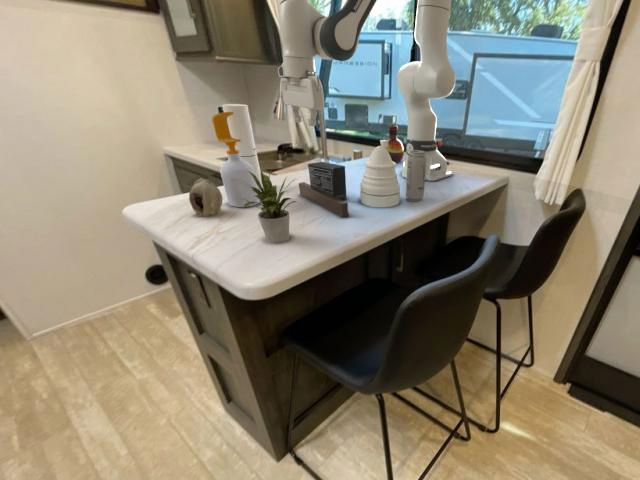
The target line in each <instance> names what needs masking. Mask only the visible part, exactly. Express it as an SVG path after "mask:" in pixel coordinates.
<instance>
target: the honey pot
mask: <svg viewBox="0 0 640 480" xmlns="http://www.w3.org/2000/svg"><path fill="white" fill-rule="evenodd" d="M379 142H380V145H378V146H376V147H375V148H374V149H373V150H372V152H371V153H370V156H369V158H368V159H367V160H366V161H364V162H363V165H364V167H365V169H364V172H363V174H362V179H361V182H360V185H359V189H360V190H359V191H360V192H359V193H360V203H361V204H363V205H365V206H367V207H372V208H390V207H394V206H397V205H398V204H400V198H401V194H400V193H401V192H400V190H401V185H400V183H399V178H398V173H397V172H396V167H397V162H396V163H395V162H393V161H392V159H391V157H390V155H389V153H388V151H387V150H386V149H385V147H386V146H387V145H388V140H386V139H380V140H379Z"/></svg>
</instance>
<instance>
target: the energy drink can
mask: <svg viewBox="0 0 640 480" xmlns="http://www.w3.org/2000/svg"><path fill="white" fill-rule="evenodd" d="M426 160H427V157H426V155H425V151H422V150H411V151H410V154H409V155H408V163H407V178H406V183H405V185H406V186H405V187H406V188H405V197H406V198H407V201H410V202H421V201H422V199H423V198H424V197H425V184H426V180H425V173H426Z"/></svg>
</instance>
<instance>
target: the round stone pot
mask: <svg viewBox="0 0 640 480" xmlns="http://www.w3.org/2000/svg"><path fill="white" fill-rule="evenodd" d="M188 200H189V203H190V205H191V208H192V210H193V211H194V212H195V214H194V215H195V216H197V217H212V216H215V215H218V214H219V213H220V211H221V208H222V206H223V195H222V191H221V190H220V188H218V187H217V185H215V184H214V183H213V182H211V180H210V179H204V178H202V177H201V178H199V179H197V180H195V181H194V182H193V185H192V187H191V189H190V191H189V193H188Z"/></svg>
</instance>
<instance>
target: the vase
mask: <svg viewBox="0 0 640 480" xmlns="http://www.w3.org/2000/svg"><path fill="white" fill-rule="evenodd" d="M398 129H399V127H398V125H396V124H390V125H388V138H386V139H385V140H388V145H387V146H386V147H385V149H386V150H387V151H388V153H389V155H390V157H391V159H392V161H393V162H395V163H396V164H397V163H400V162H402V160H403V158H404V155H405V145H404V144H403V141H401V140H400V139H399V138H398Z"/></svg>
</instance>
